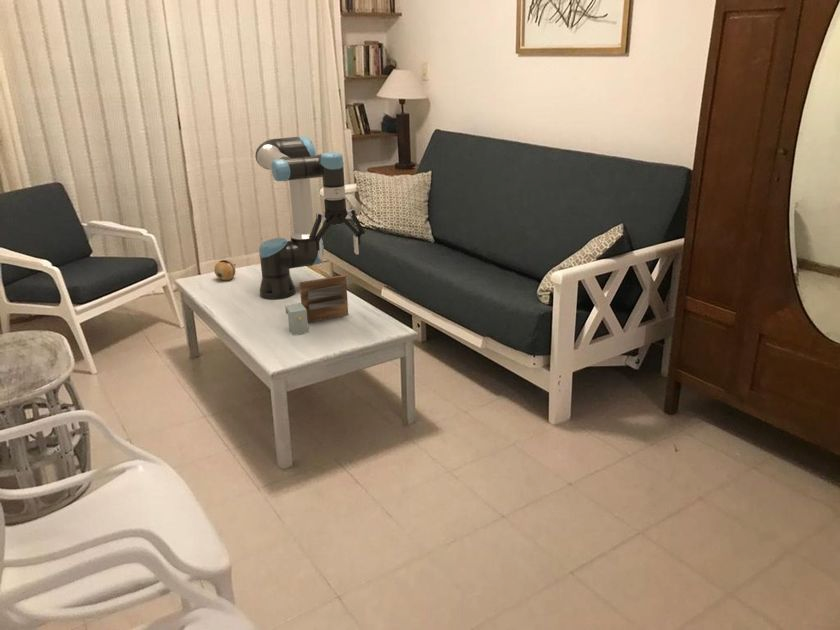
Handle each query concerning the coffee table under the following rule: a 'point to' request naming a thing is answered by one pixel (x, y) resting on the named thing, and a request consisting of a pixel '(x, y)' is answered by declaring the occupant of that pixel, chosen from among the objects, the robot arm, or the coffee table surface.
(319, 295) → the brown wooden rack
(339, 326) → the coffee table surface
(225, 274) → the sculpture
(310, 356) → the coffee table surface
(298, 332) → the grey-green box
